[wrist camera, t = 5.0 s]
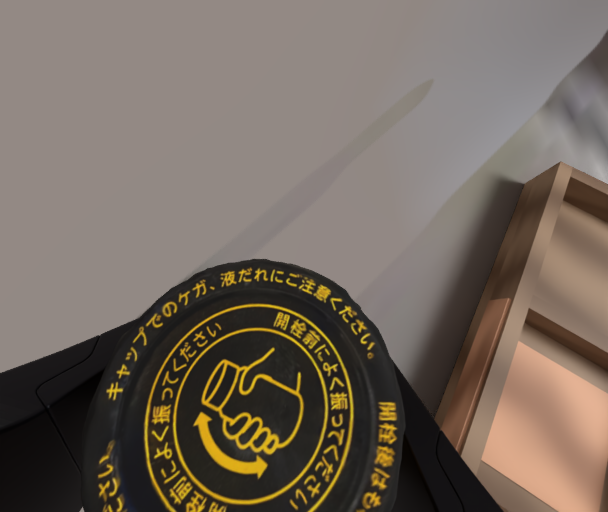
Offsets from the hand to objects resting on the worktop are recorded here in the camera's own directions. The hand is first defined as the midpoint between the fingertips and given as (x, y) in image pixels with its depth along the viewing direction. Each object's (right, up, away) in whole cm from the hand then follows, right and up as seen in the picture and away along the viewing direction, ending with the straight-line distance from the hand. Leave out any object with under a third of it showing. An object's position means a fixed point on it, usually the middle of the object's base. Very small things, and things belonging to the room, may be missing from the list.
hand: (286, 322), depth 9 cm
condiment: (-1, -4, +6) cm, 7 cm away
